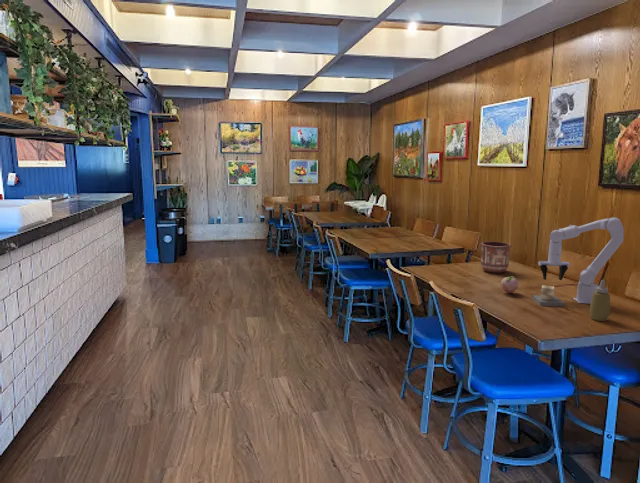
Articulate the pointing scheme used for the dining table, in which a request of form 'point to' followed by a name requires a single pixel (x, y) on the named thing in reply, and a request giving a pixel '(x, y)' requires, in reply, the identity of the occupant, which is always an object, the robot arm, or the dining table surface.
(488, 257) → the pottery
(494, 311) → the dining table surface
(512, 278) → the decorative fruit
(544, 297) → the birch cube
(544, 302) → the charcoal base
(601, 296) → the squeeze bottle
